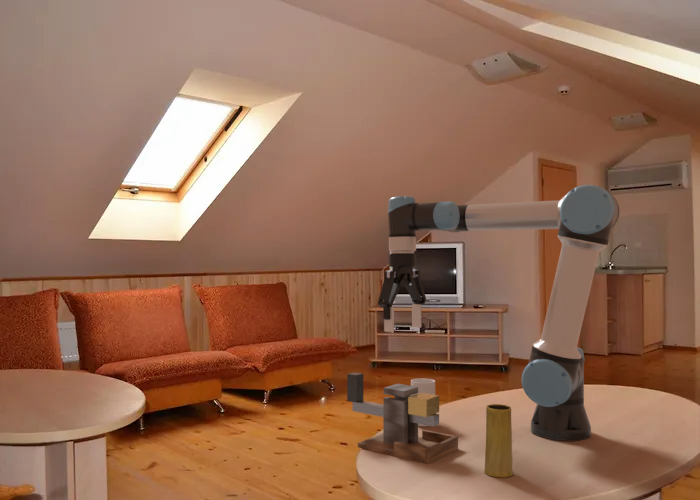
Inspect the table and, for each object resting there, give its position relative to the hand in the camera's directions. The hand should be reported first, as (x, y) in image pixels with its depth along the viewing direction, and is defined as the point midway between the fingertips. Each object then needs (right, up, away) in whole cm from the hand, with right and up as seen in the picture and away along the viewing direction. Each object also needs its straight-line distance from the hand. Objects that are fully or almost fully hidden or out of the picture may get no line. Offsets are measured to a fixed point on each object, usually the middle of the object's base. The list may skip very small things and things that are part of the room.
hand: (403, 329), depth 176 cm
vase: (+17, -26, -38) cm, 50 cm away
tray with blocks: (-1, -26, -21) cm, 34 cm away
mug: (+6, -27, +3) cm, 28 cm away
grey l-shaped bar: (-4, -19, -18) cm, 27 cm away
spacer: (+3, -17, -24) cm, 29 cm away
